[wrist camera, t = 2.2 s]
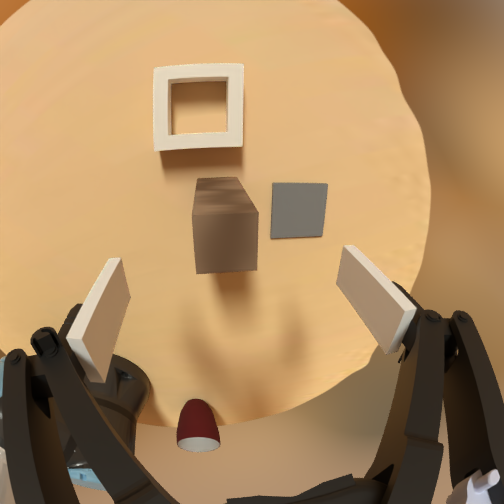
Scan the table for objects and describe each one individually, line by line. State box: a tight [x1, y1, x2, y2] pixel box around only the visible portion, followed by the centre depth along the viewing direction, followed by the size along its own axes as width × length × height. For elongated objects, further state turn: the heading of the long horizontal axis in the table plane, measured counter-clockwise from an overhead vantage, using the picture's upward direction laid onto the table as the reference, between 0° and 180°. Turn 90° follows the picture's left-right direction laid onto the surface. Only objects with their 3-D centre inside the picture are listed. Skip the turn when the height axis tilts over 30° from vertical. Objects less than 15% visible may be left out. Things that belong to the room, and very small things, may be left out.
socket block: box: [153, 63, 244, 151], centre depth 25 cm, size 9×9×3 cm
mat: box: [271, 183, 328, 238], centre depth 33 cm, size 7×7×1 cm
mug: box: [177, 399, 220, 452], centre depth 44 cm, size 11×8×10 cm
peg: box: [192, 177, 259, 274], centre depth 25 cm, size 4×4×14 cm
